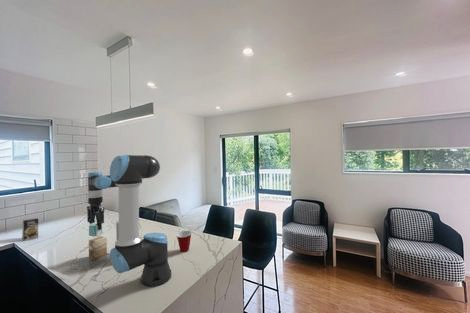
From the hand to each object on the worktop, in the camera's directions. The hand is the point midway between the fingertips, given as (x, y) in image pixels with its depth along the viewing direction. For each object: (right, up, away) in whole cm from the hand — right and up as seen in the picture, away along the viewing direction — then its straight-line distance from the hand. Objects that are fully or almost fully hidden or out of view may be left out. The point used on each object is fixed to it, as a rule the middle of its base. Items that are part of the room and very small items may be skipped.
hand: (95, 234), depth 132 cm
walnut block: (-1, -16, +3) cm, 16 cm away
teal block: (0, 0, 0) cm, 0 cm away
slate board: (0, -18, +1) cm, 18 cm away
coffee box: (-85, -21, +46) cm, 99 cm away
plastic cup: (+52, -17, +14) cm, 56 cm away
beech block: (-1, -10, +4) cm, 11 cm away
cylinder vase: (+19, -17, +2) cm, 26 cm away
